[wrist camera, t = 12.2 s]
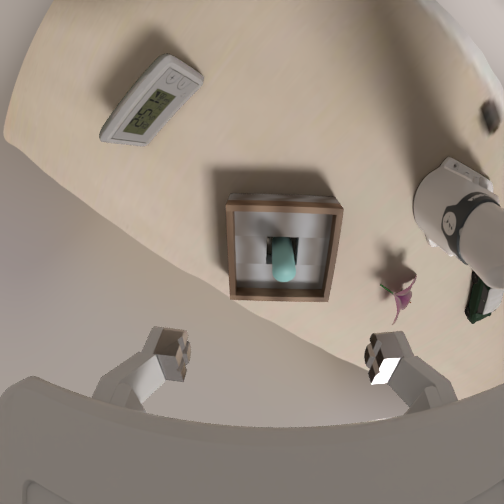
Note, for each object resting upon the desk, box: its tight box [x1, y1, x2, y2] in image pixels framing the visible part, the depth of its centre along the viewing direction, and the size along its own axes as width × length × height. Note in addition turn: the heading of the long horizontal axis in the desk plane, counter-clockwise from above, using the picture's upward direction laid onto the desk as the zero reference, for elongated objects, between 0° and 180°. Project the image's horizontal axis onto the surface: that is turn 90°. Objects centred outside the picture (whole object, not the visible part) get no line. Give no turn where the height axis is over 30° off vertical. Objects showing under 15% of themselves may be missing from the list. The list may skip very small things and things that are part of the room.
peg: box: [272, 237, 296, 282], centre depth 46 cm, size 4×4×10 cm
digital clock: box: [99, 54, 204, 146], centre depth 34 cm, size 16×9×11 cm, turn 122°
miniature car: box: [465, 271, 504, 324], centre depth 50 cm, size 9×18×8 cm, turn 18°
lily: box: [380, 274, 417, 325], centre depth 51 cm, size 12×12×10 cm
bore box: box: [226, 193, 344, 302], centre depth 48 cm, size 18×18×6 cm
